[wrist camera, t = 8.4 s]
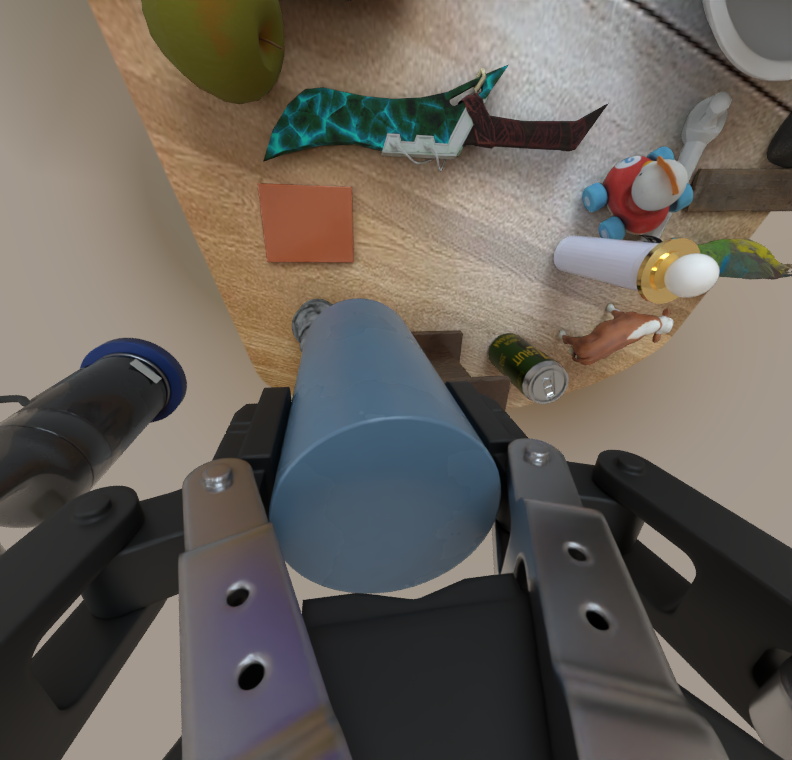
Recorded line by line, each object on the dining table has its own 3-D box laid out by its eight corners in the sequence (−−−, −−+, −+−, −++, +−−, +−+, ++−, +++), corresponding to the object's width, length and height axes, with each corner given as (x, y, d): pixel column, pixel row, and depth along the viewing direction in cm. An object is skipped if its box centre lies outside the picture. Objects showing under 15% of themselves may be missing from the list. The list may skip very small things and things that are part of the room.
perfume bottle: (559, 284, 48) (690, 328, 30) (538, 252, 46) (667, 277, 28) (594, 254, 47) (752, 281, 29) (575, 219, 45) (734, 224, 27)
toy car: (652, 150, 42) (704, 87, 32) (686, 215, 42) (748, 171, 32) (576, 191, 44) (603, 144, 35) (607, 253, 44) (643, 224, 34)
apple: (208, 86, 36) (306, 122, 35) (125, 74, 28) (248, 120, 28) (202, -63, 30) (320, -21, 29) (93, -128, 22) (250, -74, 22)
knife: (258, 55, 35) (267, 168, 38) (248, 34, 32) (259, 159, 35) (602, 81, 39) (586, 183, 42) (624, 64, 36) (604, 176, 39)
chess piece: (287, 303, 44) (272, 333, 33) (333, 290, 44) (332, 316, 33) (304, 346, 47) (295, 386, 36) (347, 333, 47) (351, 370, 36)
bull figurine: (637, 316, 52) (686, 334, 45) (554, 355, 53) (588, 378, 46) (635, 290, 50) (685, 303, 43) (548, 330, 51) (583, 349, 44)
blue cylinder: (307, 401, 17) (281, 608, 8) (299, 298, 15) (251, 424, 6) (408, 396, 18) (485, 580, 9) (415, 298, 16) (521, 410, 7)
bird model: (705, 234, 43) (690, 276, 45) (836, 243, 46) (818, 283, 48) (670, 235, 48) (658, 273, 50) (791, 243, 51) (775, 279, 52)
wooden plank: (814, 168, 46) (798, 210, 48) (802, 169, 47) (787, 211, 49) (700, 168, 44) (688, 213, 46) (690, 170, 45) (679, 213, 47)
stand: (401, 384, 51) (426, 451, 37) (403, 331, 48) (432, 382, 34) (454, 382, 52) (498, 446, 38) (460, 330, 49) (511, 379, 35)
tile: (268, 261, 41) (267, 261, 41) (258, 183, 38) (257, 183, 38) (353, 261, 43) (353, 262, 42) (351, 187, 40) (351, 186, 39)
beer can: (525, 357, 52) (573, 394, 42) (491, 372, 53) (531, 412, 42) (517, 325, 50) (566, 356, 39) (482, 341, 50) (521, 376, 39)
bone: (730, 102, 41) (694, 97, 41) (752, 89, 36) (711, 83, 37) (645, 260, 49) (616, 253, 50) (653, 265, 45) (622, 257, 46)
